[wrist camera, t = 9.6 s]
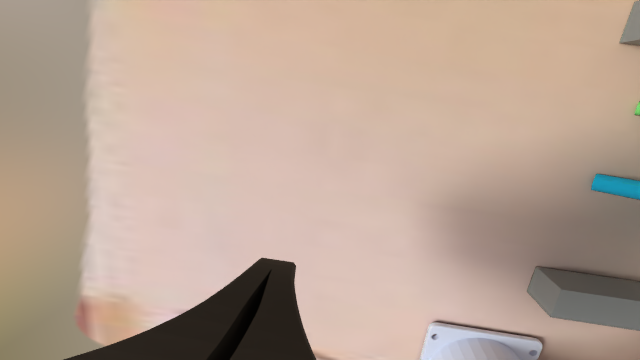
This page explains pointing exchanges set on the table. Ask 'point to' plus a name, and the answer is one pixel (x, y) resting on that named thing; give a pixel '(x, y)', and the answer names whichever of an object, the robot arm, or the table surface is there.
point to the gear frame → (585, 289)
